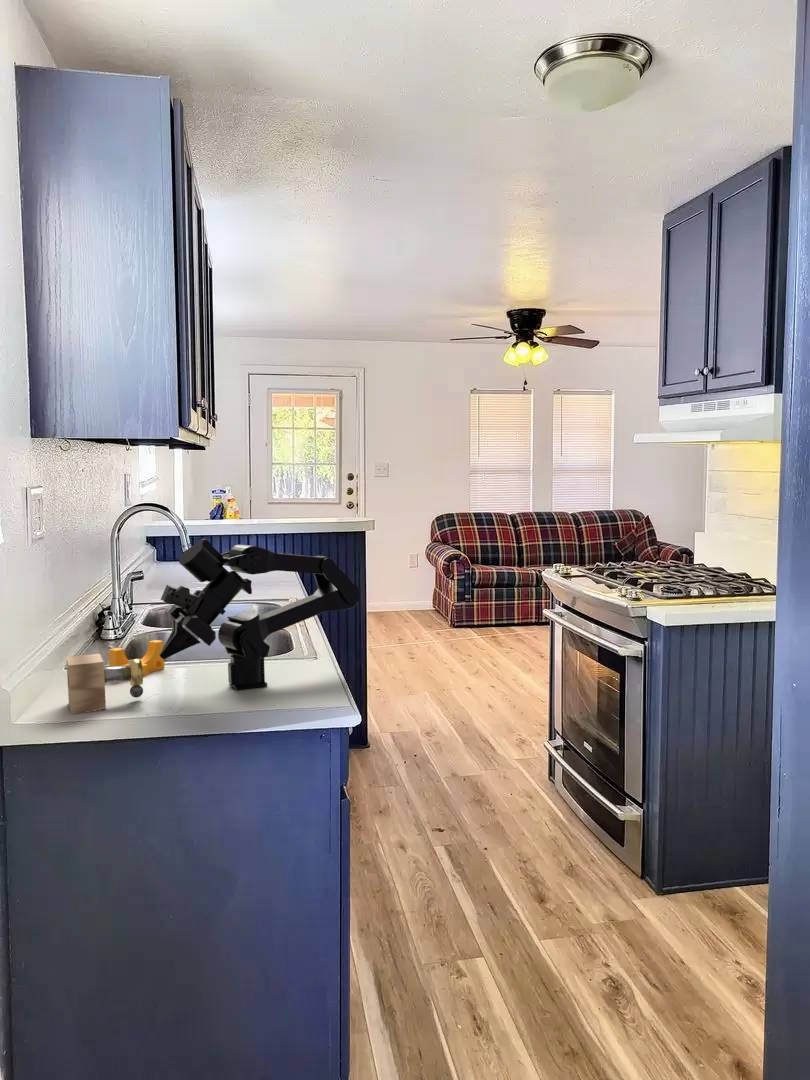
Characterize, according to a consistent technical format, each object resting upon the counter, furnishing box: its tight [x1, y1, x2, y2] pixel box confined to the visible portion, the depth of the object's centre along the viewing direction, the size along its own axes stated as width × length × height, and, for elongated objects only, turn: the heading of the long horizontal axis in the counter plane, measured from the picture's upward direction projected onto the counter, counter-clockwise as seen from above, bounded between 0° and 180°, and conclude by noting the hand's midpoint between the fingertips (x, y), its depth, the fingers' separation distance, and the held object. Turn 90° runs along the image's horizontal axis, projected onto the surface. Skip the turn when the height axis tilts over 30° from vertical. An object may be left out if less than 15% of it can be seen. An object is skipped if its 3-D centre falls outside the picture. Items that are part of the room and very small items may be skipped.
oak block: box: [66, 653, 107, 715], centre depth 157 cm, size 6×8×9 cm
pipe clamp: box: [108, 639, 165, 677], centre depth 182 cm, size 12×4×6 cm, turn 143°
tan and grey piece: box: [104, 658, 144, 699], centre depth 159 cm, size 10×5×7 cm, turn 115°
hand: (161, 657), depth 162 cm, fingers closed
